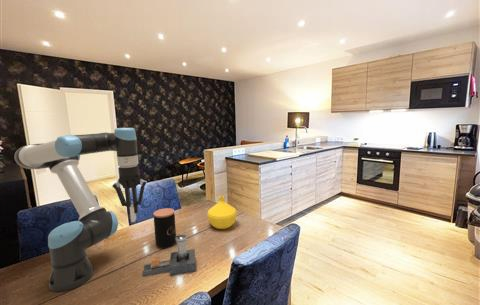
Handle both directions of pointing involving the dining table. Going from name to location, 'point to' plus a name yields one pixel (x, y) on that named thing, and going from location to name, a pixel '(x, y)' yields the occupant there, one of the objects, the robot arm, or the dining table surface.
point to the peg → (181, 247)
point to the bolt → (158, 263)
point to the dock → (174, 265)
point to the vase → (222, 214)
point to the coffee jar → (164, 227)
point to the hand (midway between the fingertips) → (133, 220)
